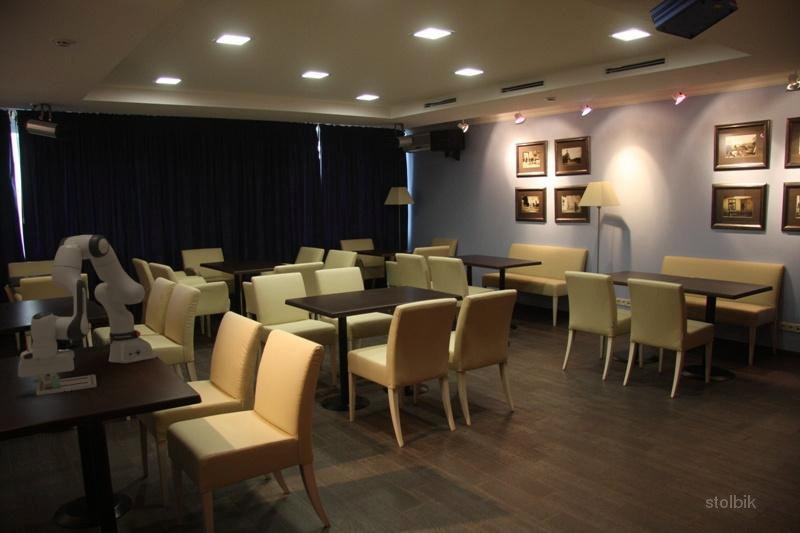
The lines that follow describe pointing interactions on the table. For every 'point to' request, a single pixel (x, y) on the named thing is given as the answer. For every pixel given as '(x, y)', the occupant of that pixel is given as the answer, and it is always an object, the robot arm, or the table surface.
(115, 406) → the table surface
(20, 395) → the table surface
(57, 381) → the fader
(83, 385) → the console
